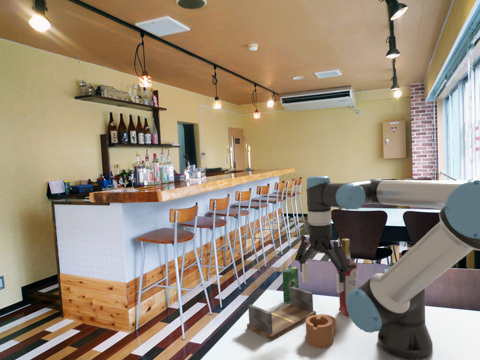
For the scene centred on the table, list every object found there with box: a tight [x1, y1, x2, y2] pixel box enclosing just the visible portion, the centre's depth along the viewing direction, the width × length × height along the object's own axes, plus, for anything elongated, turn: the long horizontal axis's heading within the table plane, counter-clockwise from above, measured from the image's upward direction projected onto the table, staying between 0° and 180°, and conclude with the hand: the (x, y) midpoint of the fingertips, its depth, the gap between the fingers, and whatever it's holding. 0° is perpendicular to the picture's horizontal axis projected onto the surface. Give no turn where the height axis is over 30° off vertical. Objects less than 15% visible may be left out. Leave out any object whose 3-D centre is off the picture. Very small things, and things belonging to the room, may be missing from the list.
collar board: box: [246, 287, 317, 341], centre depth 126 cm, size 12×24×8 cm, turn 132°
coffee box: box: [282, 266, 300, 304], centre depth 145 cm, size 8×3×13 cm, turn 138°
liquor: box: [336, 238, 358, 317], centre depth 129 cm, size 7×7×28 cm
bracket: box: [305, 313, 337, 349], centre depth 117 cm, size 18×8×7 cm, turn 159°
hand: (322, 286), depth 116 cm, fingers open, 13 cm apart
